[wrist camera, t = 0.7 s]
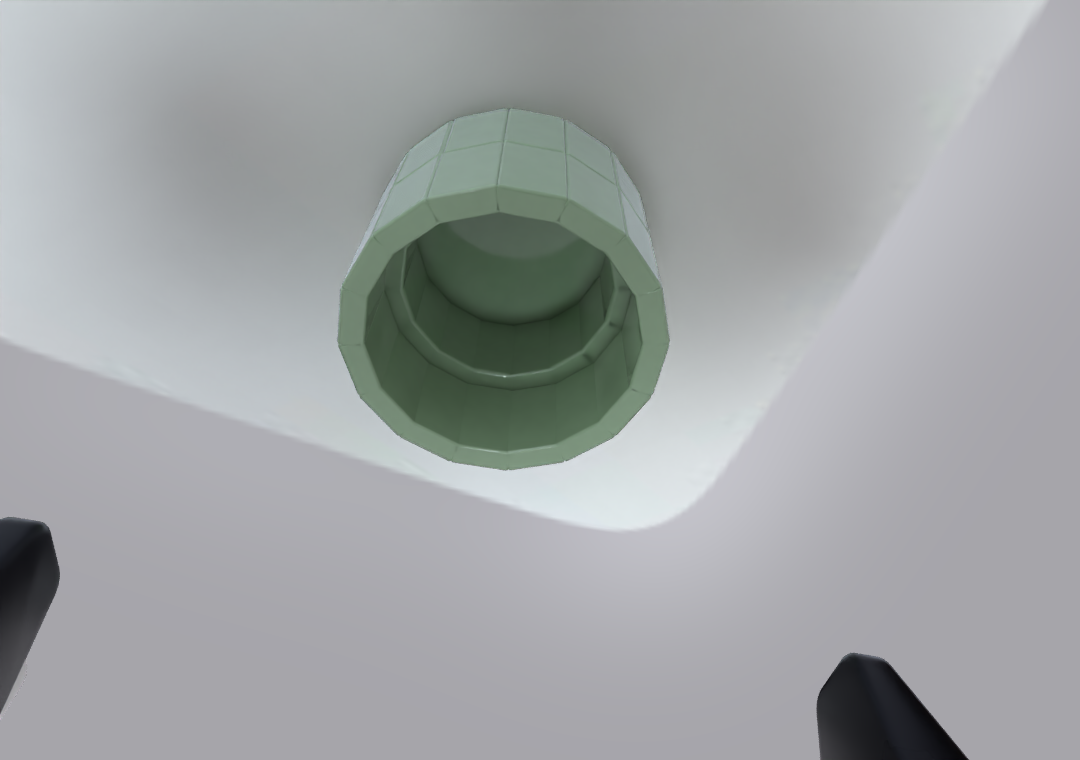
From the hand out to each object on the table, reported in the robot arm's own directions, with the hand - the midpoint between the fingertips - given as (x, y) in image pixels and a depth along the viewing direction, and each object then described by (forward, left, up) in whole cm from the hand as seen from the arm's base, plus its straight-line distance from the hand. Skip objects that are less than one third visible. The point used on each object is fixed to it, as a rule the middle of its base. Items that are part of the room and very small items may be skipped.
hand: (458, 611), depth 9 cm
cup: (0, 0, -12) cm, 12 cm away
